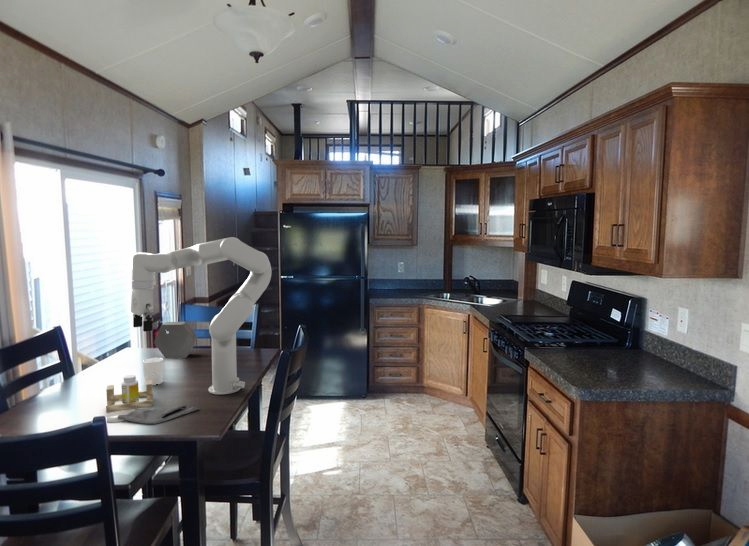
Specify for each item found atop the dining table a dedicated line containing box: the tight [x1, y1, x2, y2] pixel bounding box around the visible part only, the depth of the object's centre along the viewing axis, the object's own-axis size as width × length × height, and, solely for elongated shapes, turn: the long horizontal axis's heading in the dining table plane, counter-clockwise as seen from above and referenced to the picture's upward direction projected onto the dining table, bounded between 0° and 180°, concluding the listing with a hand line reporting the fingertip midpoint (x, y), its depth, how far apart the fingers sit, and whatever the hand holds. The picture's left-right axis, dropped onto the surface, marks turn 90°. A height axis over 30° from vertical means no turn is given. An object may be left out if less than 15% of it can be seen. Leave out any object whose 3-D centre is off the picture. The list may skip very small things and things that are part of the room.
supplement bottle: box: [121, 374, 140, 404], centre depth 173 cm, size 6×6×10 cm
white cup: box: [142, 357, 164, 386], centre depth 196 cm, size 8×8×10 cm
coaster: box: [104, 409, 134, 424], centre depth 160 cm, size 10×10×1 cm
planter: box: [153, 321, 198, 359], centre depth 239 cm, size 17×8×21 cm
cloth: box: [118, 404, 200, 425], centre depth 160 cm, size 26×14×2 cm, turn 100°
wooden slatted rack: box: [105, 380, 154, 413], centre depth 173 cm, size 15×13×7 cm
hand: (142, 328), depth 178 cm, fingers open, 9 cm apart
